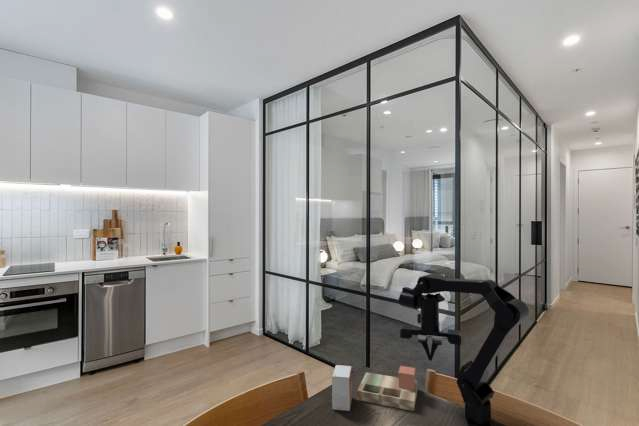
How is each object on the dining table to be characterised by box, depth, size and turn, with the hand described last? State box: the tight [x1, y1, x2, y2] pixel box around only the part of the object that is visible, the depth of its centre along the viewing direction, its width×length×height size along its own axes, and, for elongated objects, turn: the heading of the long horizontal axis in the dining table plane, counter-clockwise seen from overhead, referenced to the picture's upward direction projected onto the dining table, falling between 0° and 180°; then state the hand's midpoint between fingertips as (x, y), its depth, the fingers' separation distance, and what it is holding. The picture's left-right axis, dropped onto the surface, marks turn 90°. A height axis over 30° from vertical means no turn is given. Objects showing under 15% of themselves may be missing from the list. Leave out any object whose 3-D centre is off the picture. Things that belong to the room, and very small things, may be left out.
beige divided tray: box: [356, 372, 418, 412], centre depth 109 cm, size 18×13×3 cm
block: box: [398, 365, 416, 390], centre depth 109 cm, size 5×5×5 cm
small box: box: [331, 364, 353, 412], centre depth 104 cm, size 8×6×10 cm
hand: (430, 360), depth 106 cm, fingers closed
